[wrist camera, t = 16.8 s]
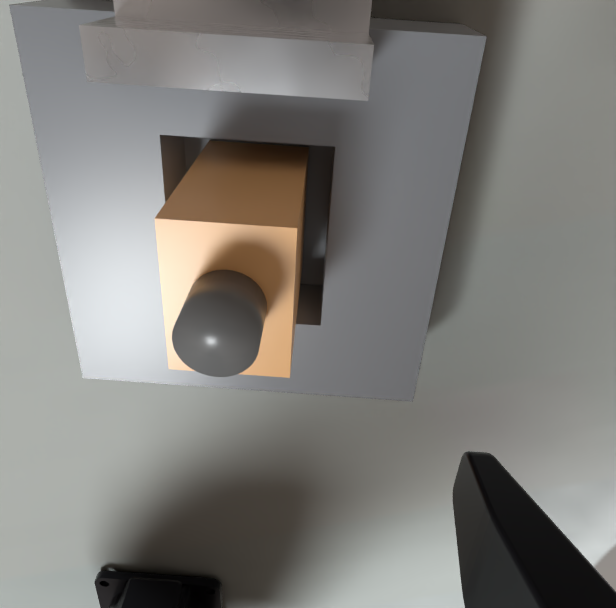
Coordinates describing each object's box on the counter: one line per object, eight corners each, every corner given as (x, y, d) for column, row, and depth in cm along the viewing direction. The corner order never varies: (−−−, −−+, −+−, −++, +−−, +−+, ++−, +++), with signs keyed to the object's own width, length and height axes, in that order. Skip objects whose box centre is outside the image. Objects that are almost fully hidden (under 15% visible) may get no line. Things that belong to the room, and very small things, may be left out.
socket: (403, 348, 21) (412, 401, 19) (113, 327, 21) (82, 377, 19) (461, 24, 15) (486, 36, 13) (63, -3, 15) (9, 4, 13)
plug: (302, 265, 19) (285, 420, 13) (213, 259, 19) (151, 410, 13) (308, 147, 17) (292, 261, 10) (209, 140, 17) (132, 249, 10)
